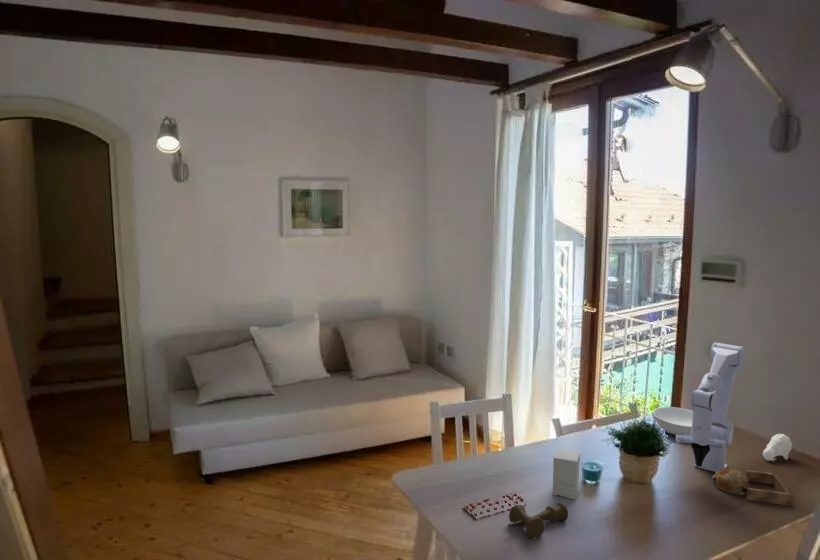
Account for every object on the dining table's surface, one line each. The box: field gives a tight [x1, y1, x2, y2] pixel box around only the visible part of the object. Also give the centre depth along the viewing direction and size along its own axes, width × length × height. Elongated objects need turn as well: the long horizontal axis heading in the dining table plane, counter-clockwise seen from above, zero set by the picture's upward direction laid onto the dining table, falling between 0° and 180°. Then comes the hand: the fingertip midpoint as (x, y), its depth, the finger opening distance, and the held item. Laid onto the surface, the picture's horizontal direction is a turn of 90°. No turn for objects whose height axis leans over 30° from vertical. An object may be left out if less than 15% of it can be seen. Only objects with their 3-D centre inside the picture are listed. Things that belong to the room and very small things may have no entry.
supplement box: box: [552, 448, 581, 500], centre depth 177 cm, size 7×7×13 cm
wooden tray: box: [744, 469, 793, 507], centre depth 180 cm, size 12×15×4 cm
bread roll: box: [711, 468, 751, 496], centre depth 182 cm, size 10×10×8 cm
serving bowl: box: [652, 406, 693, 436], centre depth 227 cm, size 21×21×7 cm
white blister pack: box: [462, 491, 527, 516], centre depth 169 cm, size 7×19×2 cm, turn 118°
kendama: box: [507, 502, 569, 539], centre depth 158 cm, size 6×10×20 cm
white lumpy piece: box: [762, 433, 793, 462], centre depth 203 cm, size 6×8×12 cm
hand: (698, 465), depth 184 cm, fingers closed
